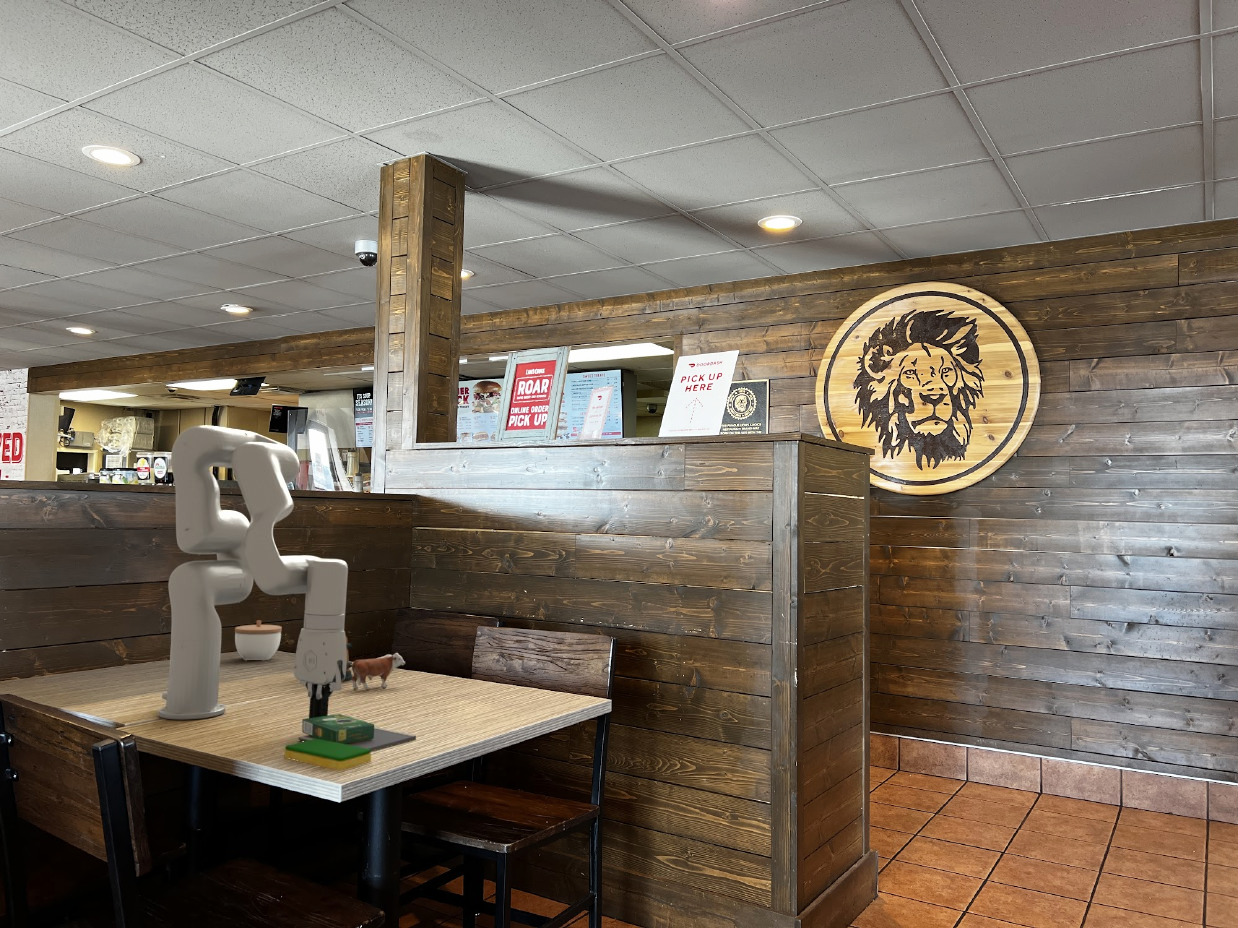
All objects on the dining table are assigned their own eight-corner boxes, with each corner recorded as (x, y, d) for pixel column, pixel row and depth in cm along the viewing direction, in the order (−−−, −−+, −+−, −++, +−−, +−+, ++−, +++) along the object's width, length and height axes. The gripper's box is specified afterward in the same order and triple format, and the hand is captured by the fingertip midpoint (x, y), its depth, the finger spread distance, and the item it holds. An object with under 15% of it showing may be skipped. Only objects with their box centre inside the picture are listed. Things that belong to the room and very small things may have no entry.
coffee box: (299, 733, 167) (336, 746, 158) (300, 718, 167) (336, 729, 158) (338, 728, 173) (375, 739, 164) (339, 712, 173) (376, 723, 164)
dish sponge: (340, 772, 146) (340, 757, 146) (283, 759, 152) (283, 745, 153) (371, 763, 152) (372, 748, 152) (315, 751, 159) (316, 737, 159)
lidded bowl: (288, 656, 262) (289, 618, 263) (267, 663, 249) (269, 623, 250) (247, 654, 263) (249, 617, 264) (224, 661, 251) (226, 622, 251)
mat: (298, 740, 164) (298, 736, 164) (357, 727, 176) (357, 723, 176) (358, 754, 155) (358, 750, 155) (415, 739, 167) (415, 735, 167)
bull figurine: (406, 686, 220) (407, 653, 220) (353, 691, 212) (354, 657, 212) (399, 683, 223) (400, 651, 224) (346, 688, 215) (348, 654, 216)
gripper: (283, 620, 173) (276, 715, 172) (335, 628, 165) (328, 728, 164) (314, 617, 179) (308, 709, 178) (366, 625, 171) (360, 721, 170)
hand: (318, 717), depth 171 cm, fingers closed
